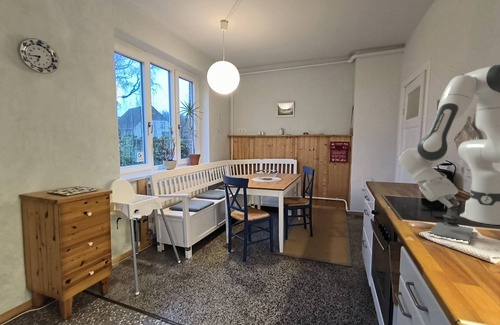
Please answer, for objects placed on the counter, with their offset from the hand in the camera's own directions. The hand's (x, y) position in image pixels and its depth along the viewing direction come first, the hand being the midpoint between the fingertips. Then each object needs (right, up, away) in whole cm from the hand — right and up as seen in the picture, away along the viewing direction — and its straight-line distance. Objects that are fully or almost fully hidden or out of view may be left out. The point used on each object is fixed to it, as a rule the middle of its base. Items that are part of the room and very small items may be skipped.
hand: (454, 206), depth 100 cm
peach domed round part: (-6, -12, +12) cm, 18 cm away
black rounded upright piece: (0, -8, +2) cm, 8 cm away
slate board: (0, -12, +2) cm, 12 cm away
